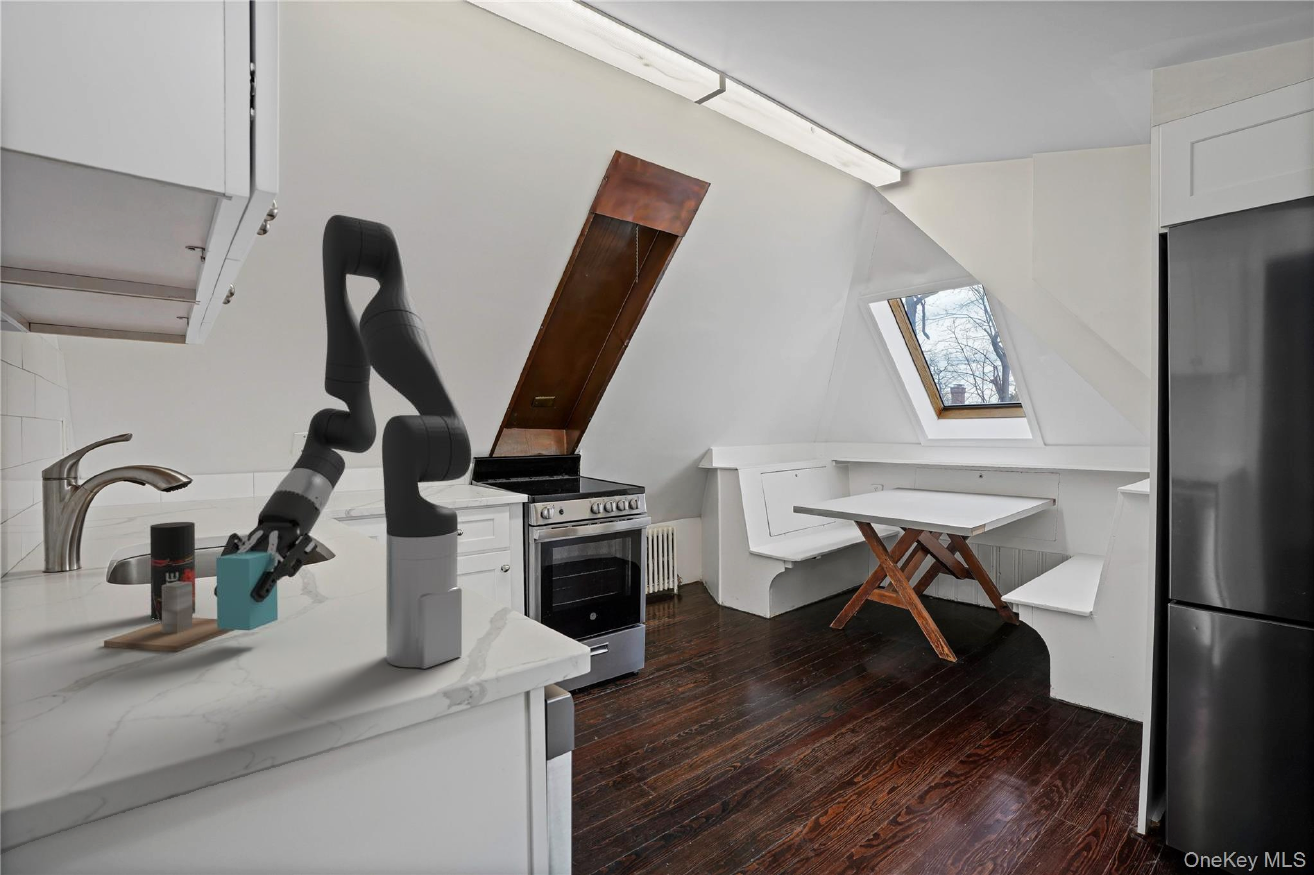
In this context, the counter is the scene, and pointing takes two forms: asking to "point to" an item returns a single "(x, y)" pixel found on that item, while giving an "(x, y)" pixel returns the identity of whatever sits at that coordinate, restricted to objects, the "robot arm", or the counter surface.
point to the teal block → (243, 592)
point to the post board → (167, 638)
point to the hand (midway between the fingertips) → (237, 598)
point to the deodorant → (171, 560)
